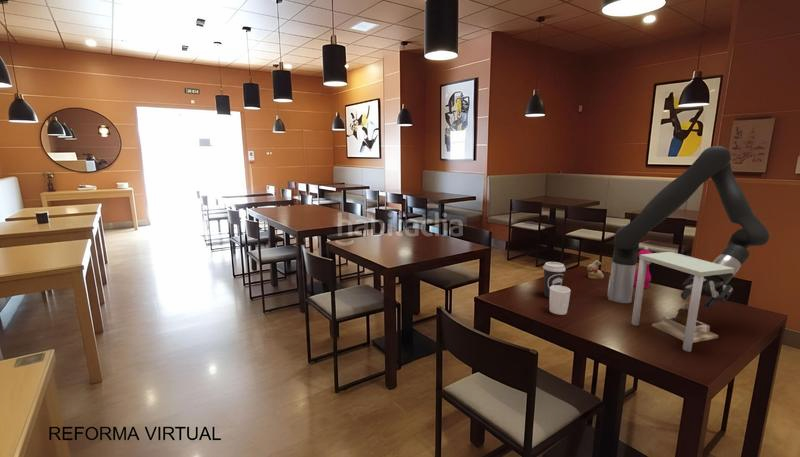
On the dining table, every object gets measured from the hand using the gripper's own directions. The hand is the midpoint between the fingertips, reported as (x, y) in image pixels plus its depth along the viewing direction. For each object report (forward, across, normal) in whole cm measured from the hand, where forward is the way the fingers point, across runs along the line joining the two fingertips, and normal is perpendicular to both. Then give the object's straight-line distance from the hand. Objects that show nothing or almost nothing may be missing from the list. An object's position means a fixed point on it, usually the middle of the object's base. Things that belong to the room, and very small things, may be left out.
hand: (694, 302), depth 139 cm
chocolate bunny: (-1, -60, +18) cm, 62 cm away
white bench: (+14, 0, +2) cm, 14 cm away
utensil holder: (+9, 0, +6) cm, 11 cm away
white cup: (+33, -28, -17) cm, 46 cm away
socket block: (+10, 0, +6) cm, 12 cm away
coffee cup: (+26, -44, -10) cm, 52 cm away
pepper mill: (-9, -42, +26) cm, 50 cm away
